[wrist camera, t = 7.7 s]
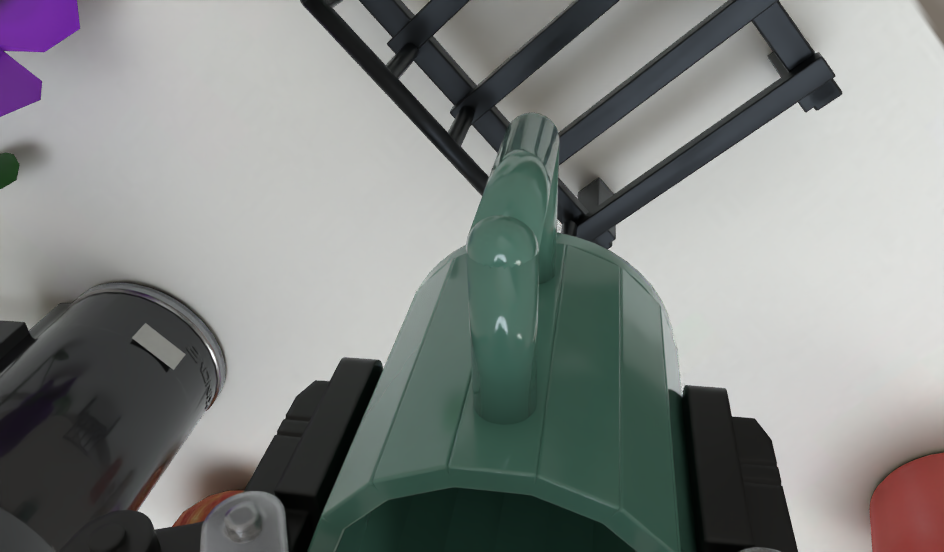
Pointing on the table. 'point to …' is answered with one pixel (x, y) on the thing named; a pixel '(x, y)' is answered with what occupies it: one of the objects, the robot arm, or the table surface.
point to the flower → (32, 30)
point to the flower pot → (910, 508)
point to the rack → (596, 204)
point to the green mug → (522, 395)
